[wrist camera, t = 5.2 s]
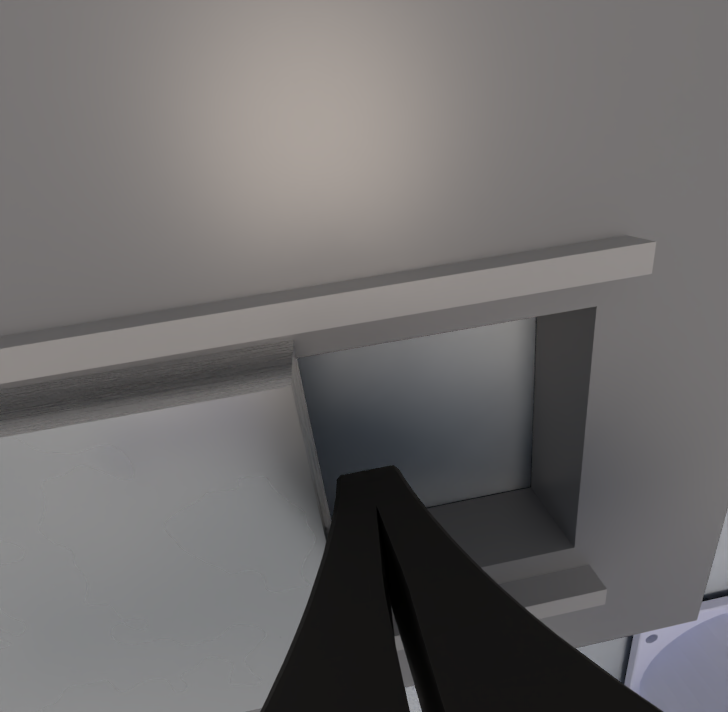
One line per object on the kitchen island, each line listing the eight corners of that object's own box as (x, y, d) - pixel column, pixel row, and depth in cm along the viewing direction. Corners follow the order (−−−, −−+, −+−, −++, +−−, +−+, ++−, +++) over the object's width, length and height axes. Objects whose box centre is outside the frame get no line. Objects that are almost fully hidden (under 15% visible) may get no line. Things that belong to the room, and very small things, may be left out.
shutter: (349, 606, 12) (358, 686, 10) (49, 670, 11) (2, 767, 10) (292, 339, 9) (291, 385, 7) (-129, 411, 8) (-253, 482, 6)
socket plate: (642, 557, 17) (718, 644, 14) (155, 663, 15) (120, 785, 12) (754, -59, 9) (973, -167, 6) (-165, 46, 8) (-448, -28, 5)
